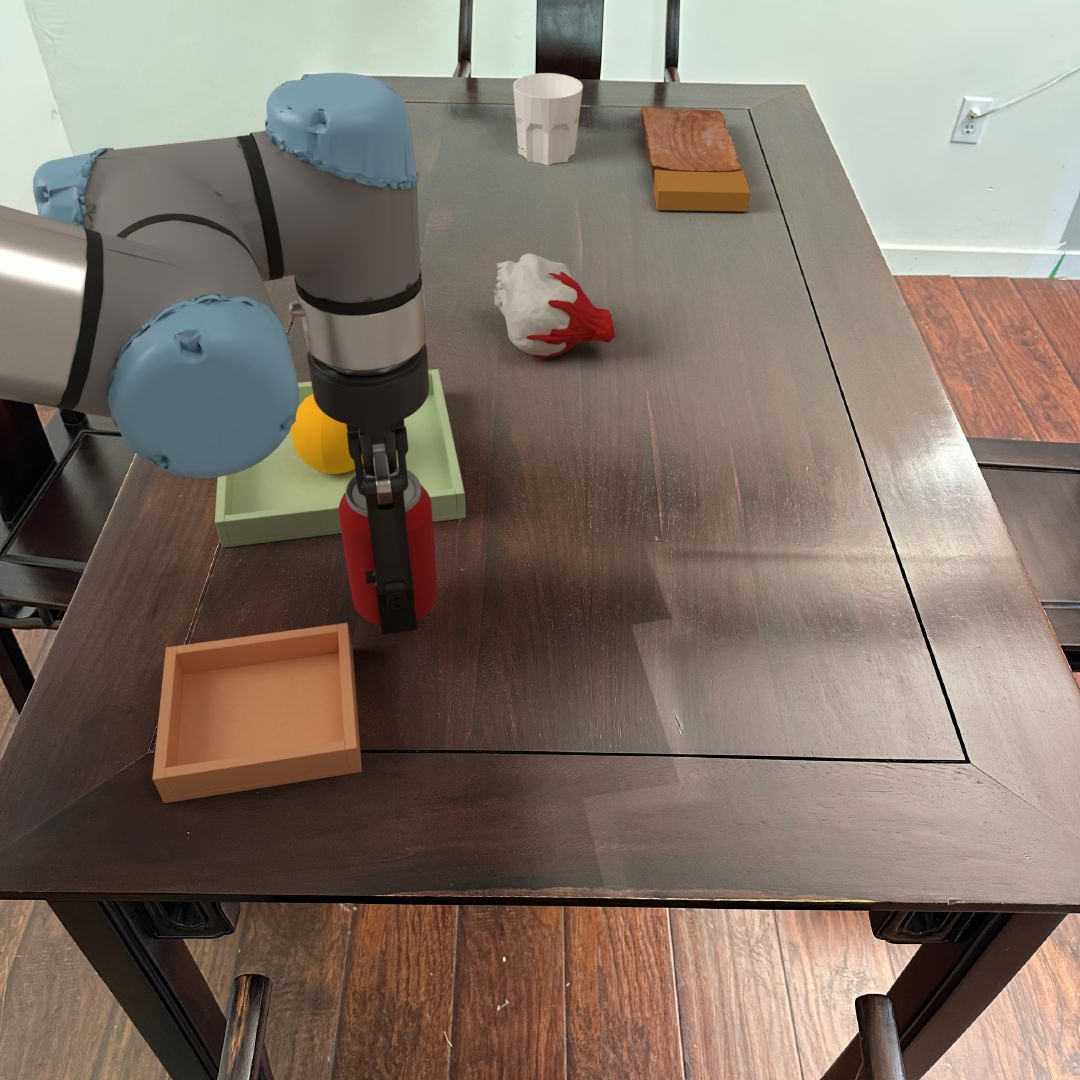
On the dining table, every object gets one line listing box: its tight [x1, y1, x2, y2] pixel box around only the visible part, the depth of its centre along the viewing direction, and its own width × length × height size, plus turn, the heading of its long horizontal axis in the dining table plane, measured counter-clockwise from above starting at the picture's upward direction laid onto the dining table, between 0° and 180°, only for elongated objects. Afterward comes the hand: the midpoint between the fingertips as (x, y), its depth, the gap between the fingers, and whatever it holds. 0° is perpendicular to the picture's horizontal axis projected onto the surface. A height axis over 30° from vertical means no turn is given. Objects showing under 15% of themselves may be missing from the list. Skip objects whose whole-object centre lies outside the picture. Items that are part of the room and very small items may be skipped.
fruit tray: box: [214, 368, 467, 549], centre depth 92 cm, size 22×20×3 cm
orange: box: [291, 394, 363, 474], centre depth 90 cm, size 8×8×8 cm
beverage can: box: [339, 466, 438, 627], centre depth 73 cm, size 7×7×12 cm
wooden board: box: [640, 106, 751, 212], centre depth 142 cm, size 13×30×3 cm, turn 0°
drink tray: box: [152, 622, 363, 804], centre depth 71 cm, size 14×12×3 cm
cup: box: [512, 72, 584, 167], centre depth 142 cm, size 10×10×10 cm
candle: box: [493, 252, 616, 359], centre depth 106 cm, size 9×11×15 cm
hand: (394, 592), depth 77 cm, fingers closed on beverage can, 7 cm apart
